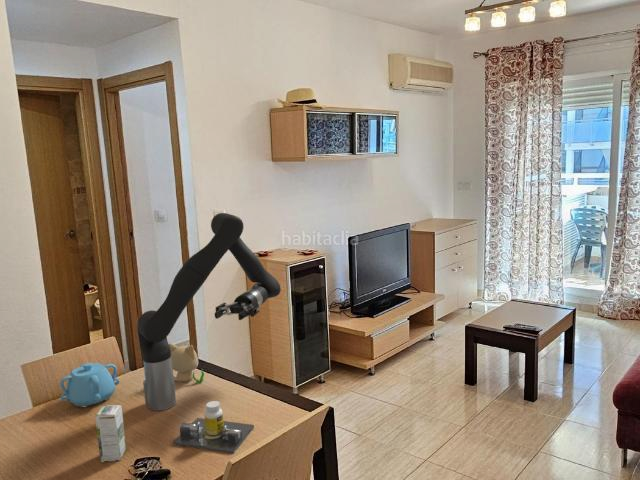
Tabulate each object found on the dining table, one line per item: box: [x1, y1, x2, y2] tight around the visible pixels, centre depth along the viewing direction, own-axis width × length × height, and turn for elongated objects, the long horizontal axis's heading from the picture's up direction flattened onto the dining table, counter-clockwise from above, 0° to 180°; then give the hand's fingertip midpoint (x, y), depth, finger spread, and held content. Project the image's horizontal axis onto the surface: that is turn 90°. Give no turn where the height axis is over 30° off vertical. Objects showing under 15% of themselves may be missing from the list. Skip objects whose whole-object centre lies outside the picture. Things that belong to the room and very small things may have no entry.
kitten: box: [168, 342, 205, 384], centre depth 195 cm, size 15×10×15 cm
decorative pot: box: [59, 362, 120, 407], centre depth 183 cm, size 16×16×14 cm
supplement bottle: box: [204, 400, 224, 438], centre depth 154 cm, size 5×5×10 cm
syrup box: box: [94, 404, 127, 462], centre depth 147 cm, size 6×6×14 cm
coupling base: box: [172, 417, 255, 454], centre depth 156 cm, size 20×14×5 cm
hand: (227, 316), depth 168 cm, fingers open, 8 cm apart
